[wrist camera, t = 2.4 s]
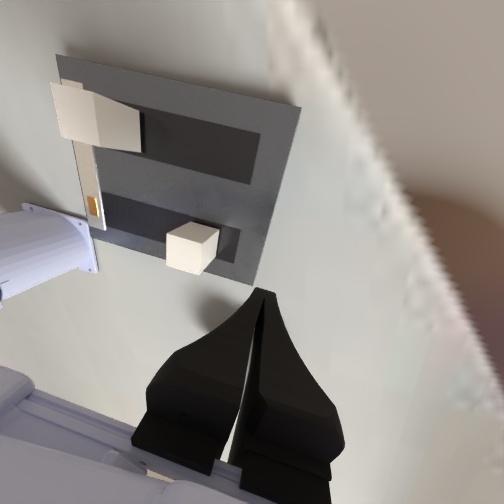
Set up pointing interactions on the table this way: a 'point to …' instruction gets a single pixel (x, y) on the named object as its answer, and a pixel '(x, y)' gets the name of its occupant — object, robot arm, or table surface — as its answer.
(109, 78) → the switch panel
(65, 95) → the switch tab
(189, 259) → the switch tab
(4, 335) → the table surface
